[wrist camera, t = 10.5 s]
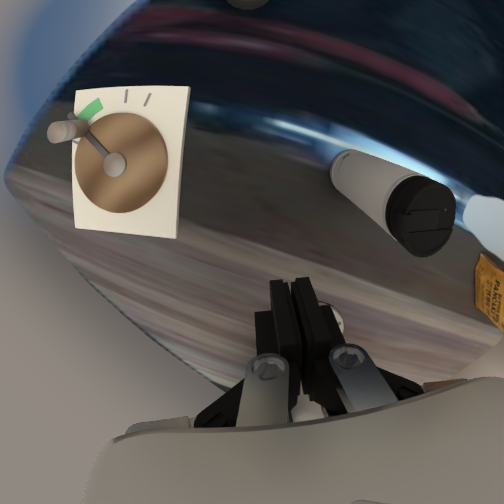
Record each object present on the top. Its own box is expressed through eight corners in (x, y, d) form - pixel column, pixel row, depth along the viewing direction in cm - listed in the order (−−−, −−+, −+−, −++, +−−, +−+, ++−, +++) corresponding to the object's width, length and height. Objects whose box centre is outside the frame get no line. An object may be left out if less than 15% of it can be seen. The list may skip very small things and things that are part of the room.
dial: (189, 162, 34) (174, 174, 27) (124, 228, 37) (100, 254, 30) (107, 76, 28) (75, 69, 21) (51, 149, 31) (16, 159, 24)
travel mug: (326, 149, 35) (403, 183, 17) (371, 149, 35) (469, 185, 17) (326, 195, 38) (394, 265, 20) (370, 193, 38) (456, 257, 20)
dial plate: (177, 234, 40) (175, 239, 38) (79, 224, 38) (74, 228, 37) (190, 87, 31) (188, 86, 30) (81, 91, 30) (75, 90, 28)
